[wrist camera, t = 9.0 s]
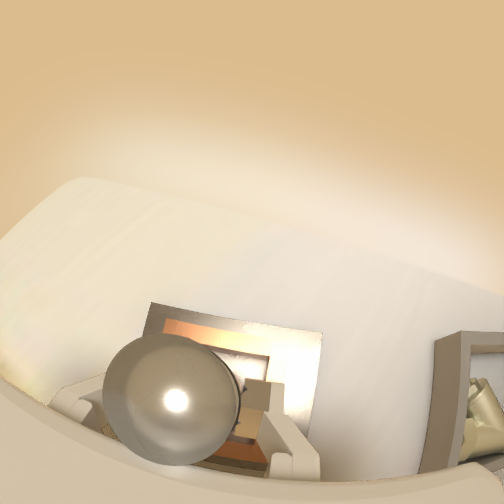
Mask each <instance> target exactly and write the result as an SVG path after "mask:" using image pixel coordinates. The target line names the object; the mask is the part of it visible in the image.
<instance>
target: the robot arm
mask: <svg viewBox="0 0 504 504" xmlns="http://www.w3.org/2000/svg"><path fill="white" fill-rule="evenodd" d="M105 374H106V373H104V374H101V375H98V376H95V377H93V378H90V379H87V380H84V381H81V382H79V383H76V384H73V385H70V386H67V387H64V388H62V389H61V390H60V391H59V392H58V394H57V395H56V396H55V397H54V398H53V400H52V401H51V402H50V403H49V404H48V405H47V406H46V405H44V404H43V403H41V402H39V401H38V400H36V399H34V398H33V397H31V396H30V395H28V394H27V393H25V392H24V391H22V390H21V389H19V388H18V387H16V386H15V385H13V384H12V383H10V382H9V381H8V380H6V379H5V378H3V377H2V376H1V375H0V504H504V489H503V486H502V484H501V482H500V480H499V478H498V477H497V476H496V475H494V474H493V473H492V472H490V471H489V470H488V469H486V468H485V467H483V466H482V465H480V464H478V463H477V462H469V463H465V464H461V465H458V466H454V467H450V468H446V469H441V470H437V471H432V472H427V473H422V474H416V475H410V476H404V477H396V478H388V479H378V480H366V481H347V482H320V455H319V454H318V453H317V451H316V450H315V449H314V448H313V446H312V445H311V444H310V443H309V441H308V440H307V439H306V438H305V436H304V435H303V434H302V433H301V431H300V430H299V429H298V427H297V426H296V425H295V424H294V422H293V421H292V420H291V418H290V417H289V416H288V415H287V414H284V393H285V384H284V383H280V382H272V381H264V380H257V379H251V378H245V382H244V387H243V392H242V396H241V410H240V414H239V418H238V420H237V423H236V429H235V435H236V436H242V437H247V438H252V439H256V441H257V442H258V444H259V446H260V448H261V450H262V452H263V454H264V456H265V458H266V459H267V461H268V466H267V468H266V471H265V473H264V475H263V478H260V477H253V476H246V475H239V474H233V473H228V472H222V471H217V470H212V469H208V468H203V467H199V466H195V465H191V464H190V465H183V466H167V465H160V464H157V463H153V462H150V461H148V460H145V459H143V458H142V457H140V456H138V455H136V454H135V453H133V452H132V451H131V450H129V449H128V448H127V447H126V446H125V445H124V444H123V443H122V442H120V441H117V440H115V439H112V438H110V437H108V436H105V435H104V434H103V432H102V429H101V428H103V427H105V426H106V425H108V424H109V422H108V420H107V417H106V415H105V411H104V407H103V399H102V389H103V382H104V378H105Z"/></svg>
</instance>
